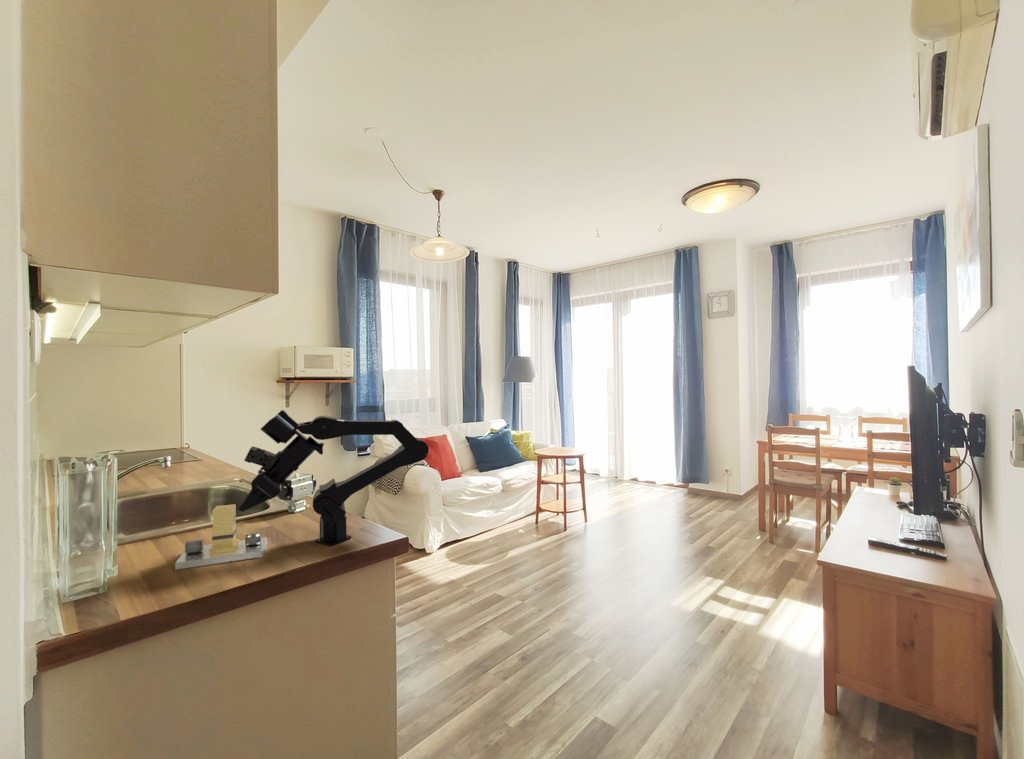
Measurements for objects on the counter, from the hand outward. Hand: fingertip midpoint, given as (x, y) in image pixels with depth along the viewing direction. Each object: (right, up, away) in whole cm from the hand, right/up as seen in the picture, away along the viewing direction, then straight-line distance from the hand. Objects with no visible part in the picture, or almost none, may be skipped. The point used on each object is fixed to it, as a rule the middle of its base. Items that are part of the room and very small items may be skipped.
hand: (243, 505), depth 109 cm
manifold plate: (-4, -12, -1) cm, 12 cm away
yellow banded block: (-4, -10, -1) cm, 11 cm away
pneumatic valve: (-3, -12, +33) cm, 35 cm away
